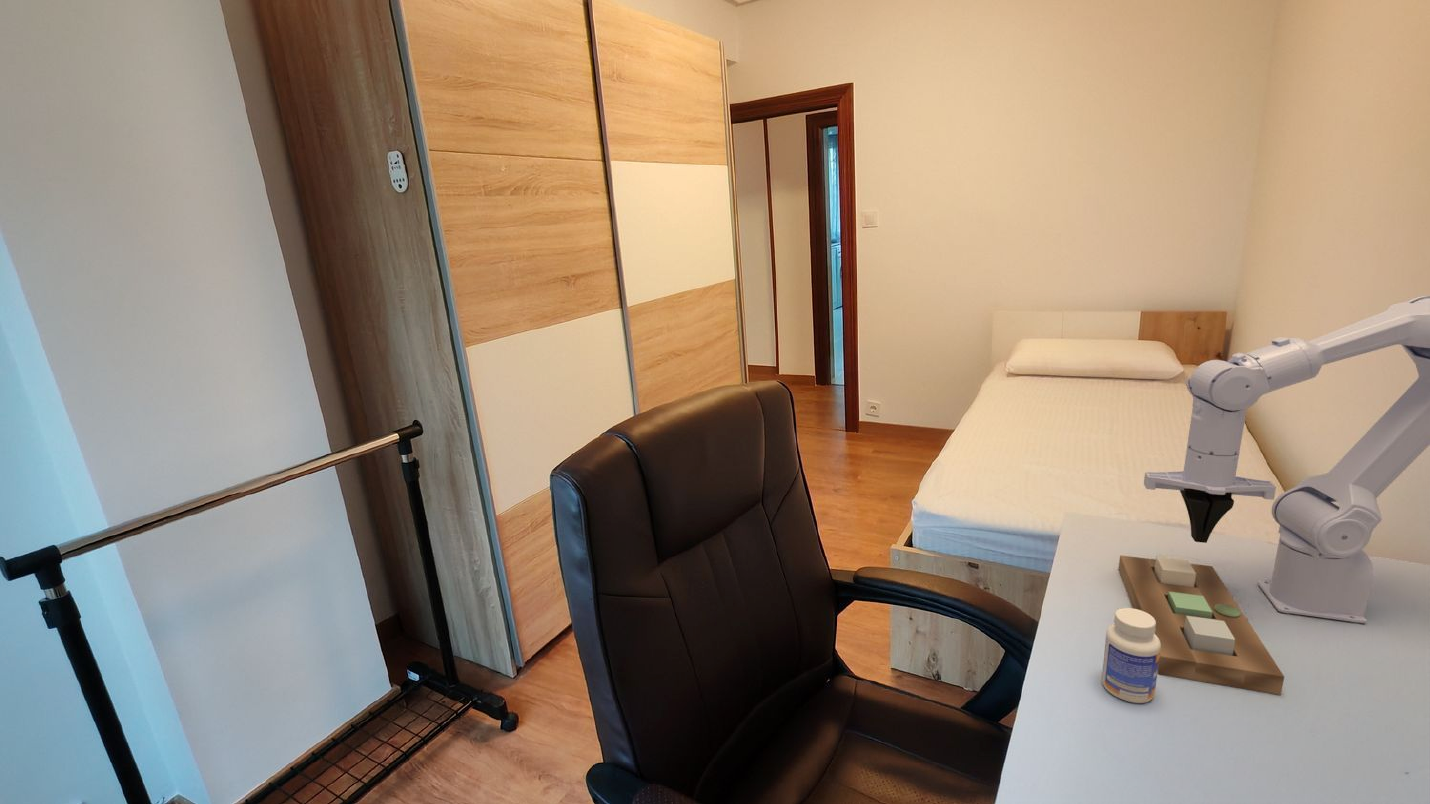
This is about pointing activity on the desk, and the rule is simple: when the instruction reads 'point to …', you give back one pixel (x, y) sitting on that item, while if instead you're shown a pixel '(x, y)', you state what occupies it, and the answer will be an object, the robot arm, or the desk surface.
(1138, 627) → the pill bottle
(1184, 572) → the cream button
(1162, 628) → the brown wooden slotted board
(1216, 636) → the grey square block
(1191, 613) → the sage button
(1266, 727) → the desk surface
